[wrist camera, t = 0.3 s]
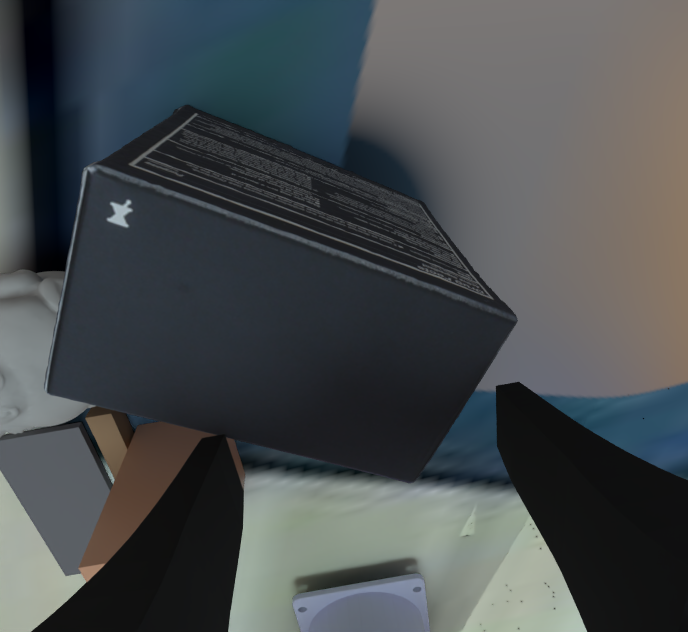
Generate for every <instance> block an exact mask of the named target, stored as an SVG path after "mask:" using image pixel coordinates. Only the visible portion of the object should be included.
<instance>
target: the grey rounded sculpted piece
mask: <svg viewBox="0 0 688 632" xmlns="http://www.w3.org/2000/svg"><path fill="white" fill-rule="evenodd" d="M64 276H65V272H64V271H47V272H40V273H35V272H33V271H30V270H23V269H21V270H17V271H15V272H13V273H3V274H0V437H1V436H3V435H4V434H5V433H6V432H8V433H12V434H17V433H23V432H24V430H31V429H32V428H34V427H45V426H48V427H50V426H54V425H58V424H61V423H65V422H66V421H69V420H71V419H73V418H75V417H77V416H78V415H79V414H81V413H82V412H84V411H85V410H86V409H87V408H91V407H95V406H94V405H90V404H86V403H83V402H78V401H73V400H70V399H66V398H62V397H57V396H52V395H49V394H47V393H46V392H45V390H44V382H45V374H46V370H47V367H48V359H49V354H50V349H51V345H52V339H53V332H54V326H55V324H56V317H57V312H58V304H59V301H60V297H61V292H62V287H63V281H64Z"/></svg>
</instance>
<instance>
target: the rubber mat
mask: <svg viewBox="0 0 688 632" xmlns="http://www.w3.org/2000/svg"><path fill="white" fill-rule="evenodd" d="M0 470H1V472H2V473H3V475H4V477H5V478H6V480H7V481H8V483H9V485H10V486H11V488H12V490H13V491H14V493H15V494H16V496H17V498H18V499H19V501H20V502H21V504H22V506H23V507H24V509H25V511H26V512H27V514H28V515H29V517H30V519H31V520H32V522H33V524H34V525H35V527H36V528H37V530H38V532H39V533H40V535H41V537H42V538H43V540H44V541H45V543H46V545H47V546H48V548H49V550H50V551H51V553H52V554H53V556H54V558H55V559H56V561H57V563H58V564H59V566H60V567H61V569H62V571H63V572H64V574H65V576H69V575H74V574H80V573H81V572H80V570H79V569H78V568H79V565H80V563H81V560H82V558H83V556H84V553H85V551H86V548H87V546H88V544H89V541H90V539H91V536H92V534H93V532H94V529H95V527H96V524H97V522H98V520H99V517H100V515H101V512H102V510H103V508H104V505H105V503H106V500H107V498H108V496H109V493H110V491H111V488H112V486H113V485H112V483H111V481H110V479H109V477H108V475H107V473H106V471H105V469H104V467H103V465H102V463H101V461H100V459H99V457H98V455H97V453H96V450H95V448H94V446H93V444H92V442H91V440H90V438H89V436H88V434H87V432H86V430H85V428H84V426H83V424H82V422H78V423H73V424H67V425H61V426H55V427H49V428H43V429H37V430H32V431H26V432H23V433H17V434H8V435H3V436H1V437H0Z"/></svg>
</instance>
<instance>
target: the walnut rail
mask: <svg viewBox="0 0 688 632" xmlns="http://www.w3.org/2000/svg"><path fill="white" fill-rule="evenodd" d="M86 420H87V423H88V425H89V427H90V429H91V431H92V433H93V435H94V437H95V439H96V441H97V443H98V445H99V447H100V450H101V452H102V454H103V456H104V458H105V460H106V462H107V464H108V466H109V468H110V470H111V472H112V474H113V477H114V479H116V476H117V474H118V472H119V469H120V467H121V464H122V462H123V460H124V457H125V455H126V452H127V450H128V447H129V445H130V443H131V440H132V438H133V435H134V432H133V429H132V427H131V425H130V422H129V420H128V418H127V415H126V413H123V412H118V411H114V410H110V409H106V408H102V407H98V406H95V407H91V409H90V411H89V412H88V414H87V416H86Z"/></svg>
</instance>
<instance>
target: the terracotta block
mask: <svg viewBox="0 0 688 632" xmlns="http://www.w3.org/2000/svg"><path fill="white" fill-rule="evenodd" d="M210 436H216V435H214V434H210V433H206V432H202V431H198V430H194V429H190V428H186V427H181V426H177V425H173V424H169V423H165V422H161V421H160V422H154V423H149V424H143V425H138V426H137V428H136V431H135V433H134V435H133V438H132V440H131V443H130V445H129V447H128V450H127V452H126V455H125V457H124V460H123V462H122V464H121V467H120V469H119V472H118V474H117V476H116V479H115V481H114V484H113V486H112V488H111V491H110V493H109V496H108V498H107V500H106V503H105V505H104V508H103V510H102V512H101V515H100V517H99V520H98V522H97V524H96V527H95V529H94V532H93V534H92V536H91V539H90V541H89V544H88V546H87V548H86V551H85V553H84V556H83V558H82V560H81V563H80V565H79V568H78V569H79V570H80V572H81V574H82V575H83V577H84V579H85V580H86V582H88V581H89V580H90V579H91V578H92V577H93V576H94V575H95V574H96V573H97V572H98V571H99V570H100V569H101V568H102V567H103V566H104V565H105V564H106V563H107V562H108V561H109V560H110V559H111V557H112V556H113V555H114V554H115V553H116V552H117V551H118V550H119V549H120V548H121V547H122V546H123V544H124V543H125V542H126V541H127V540H128V539H129V538H130V536H131V535H132V534H133V533H134V532H135V530H136V529H137V528H138V527H139V525H140V524H141V523H142V521H143V520H144V519H145V518H146V516H147V515H148V514H149V512H150V511H151V510H152V509H153V507H154V506H155V505H156V503H157V502H158V501H159V499H160V498H161V496H162V495H163V494H164V492H165V491H166V489H167V488H168V487H169V485H170V484H171V482H172V481H173V480H174V478H175V477H176V475H177V474H178V472H179V471H180V469H181V468H182V466H183V465H184V463H185V462H186V460H187V459H188V457H189V456H190V454H191V453H192V451H193V450H194V448H195V447H196V446H197V444H198V443H199V441H200V440H201V439H202V438H205V437H210ZM226 439H227V442H228V445H229V448H230V451H231V454H232V457H233V460H234V463H235V466H236V469H237V472H238V475H239V478H240V481H241V484H242V487H243V490H244V482H245V472H244V469H243V466H242V463H241V460H240V456H239V453H238V450H237V447H236V444H235V441H234V439H230V438H226Z"/></svg>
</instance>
